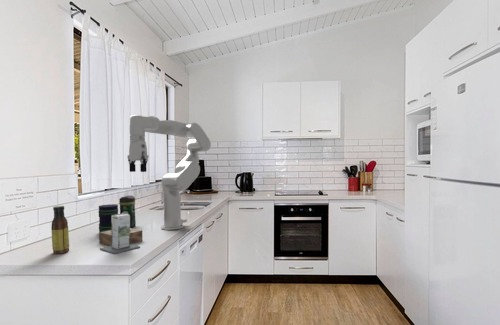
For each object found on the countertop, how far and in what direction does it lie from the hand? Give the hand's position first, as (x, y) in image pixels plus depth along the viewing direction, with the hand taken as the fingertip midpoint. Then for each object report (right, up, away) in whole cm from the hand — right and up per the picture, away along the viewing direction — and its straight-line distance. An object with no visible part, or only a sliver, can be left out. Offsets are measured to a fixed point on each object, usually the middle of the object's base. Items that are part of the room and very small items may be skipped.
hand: (137, 171), depth 167 cm
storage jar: (-18, -34, +7) cm, 39 cm away
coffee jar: (-14, -34, +22) cm, 43 cm away
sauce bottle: (-23, -34, -30) cm, 51 cm away
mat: (+1, -33, -26) cm, 42 cm away
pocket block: (-3, -33, -13) cm, 36 cm away
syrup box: (+1, -33, -25) cm, 42 cm away
